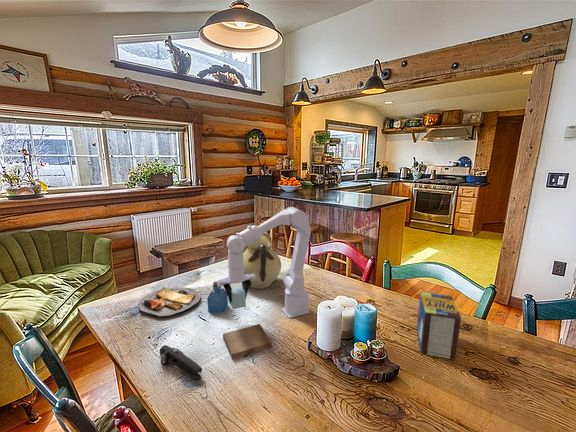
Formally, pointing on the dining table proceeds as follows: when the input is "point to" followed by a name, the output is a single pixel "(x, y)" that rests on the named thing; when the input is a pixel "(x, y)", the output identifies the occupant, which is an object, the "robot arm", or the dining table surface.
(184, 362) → the can opener
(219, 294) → the perfume bottle
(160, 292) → the food plate
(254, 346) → the walnut block
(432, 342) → the protein box
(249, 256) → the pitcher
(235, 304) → the blue block
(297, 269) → the robot arm
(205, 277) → the dining table surface
